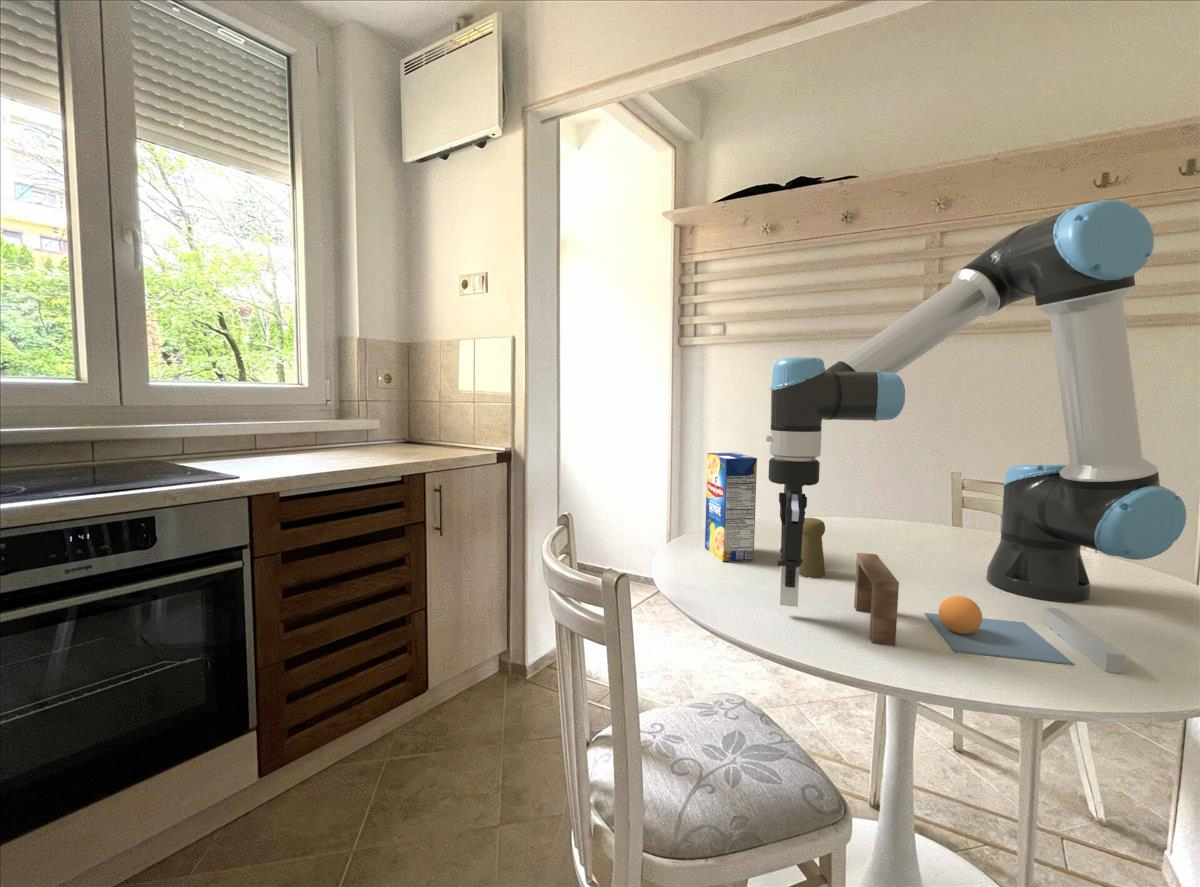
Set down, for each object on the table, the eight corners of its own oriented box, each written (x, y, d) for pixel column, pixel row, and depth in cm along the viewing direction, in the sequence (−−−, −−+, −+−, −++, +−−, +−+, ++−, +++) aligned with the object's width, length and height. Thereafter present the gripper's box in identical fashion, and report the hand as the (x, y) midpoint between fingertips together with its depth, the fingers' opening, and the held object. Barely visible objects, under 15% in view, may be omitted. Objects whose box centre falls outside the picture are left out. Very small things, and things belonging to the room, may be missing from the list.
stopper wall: (1058, 624, 88) (1059, 609, 87) (1123, 673, 72) (1125, 655, 72) (1043, 623, 88) (1044, 607, 88) (1105, 671, 73) (1107, 652, 72)
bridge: (873, 608, 94) (876, 554, 93) (895, 645, 80) (898, 582, 79) (854, 606, 94) (856, 552, 94) (872, 643, 80) (875, 580, 80)
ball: (941, 585, 87) (927, 617, 88) (955, 597, 82) (940, 631, 82) (978, 598, 86) (964, 631, 87) (995, 612, 81) (979, 646, 81)
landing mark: (1023, 623, 88) (1024, 622, 88) (1073, 665, 74) (1073, 663, 74) (924, 613, 91) (924, 612, 91) (954, 651, 78) (954, 650, 78)
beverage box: (723, 562, 119) (726, 458, 117) (704, 548, 129) (707, 453, 127) (753, 560, 120) (757, 458, 118) (732, 547, 131) (735, 452, 129)
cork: (828, 579, 108) (830, 523, 107) (795, 576, 110) (797, 521, 109) (822, 569, 114) (824, 516, 113) (791, 567, 115) (793, 514, 114)
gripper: (767, 452, 95) (763, 588, 97) (770, 461, 83) (765, 617, 85) (815, 454, 93) (809, 592, 95) (825, 463, 81) (818, 622, 83)
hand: (788, 604), depth 90 cm, fingers closed
